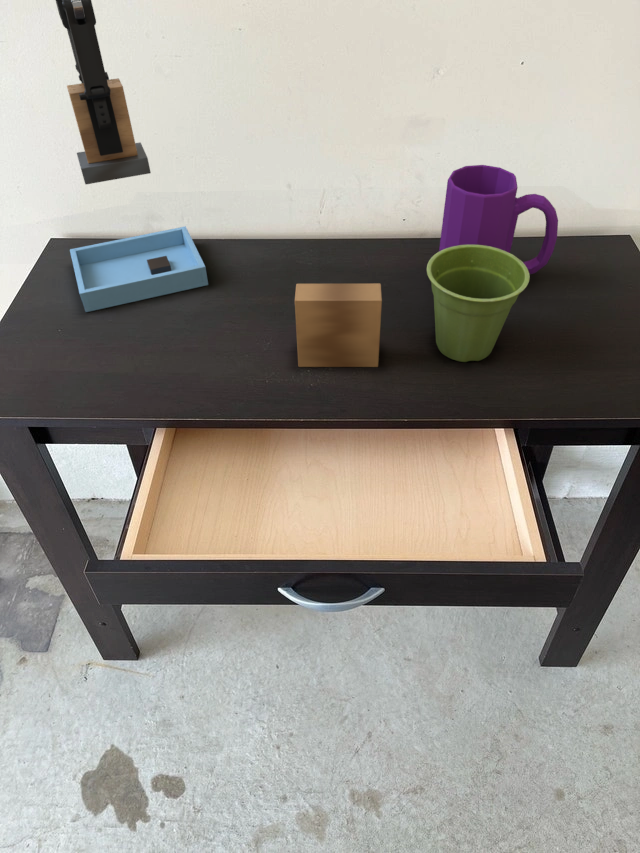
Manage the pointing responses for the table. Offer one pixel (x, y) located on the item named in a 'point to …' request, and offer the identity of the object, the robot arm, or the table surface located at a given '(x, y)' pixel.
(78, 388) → the table surface
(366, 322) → the square wooden block
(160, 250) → the pan
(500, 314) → the plant pot
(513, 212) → the mug
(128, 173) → the brush
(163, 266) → the dark grey flat block
